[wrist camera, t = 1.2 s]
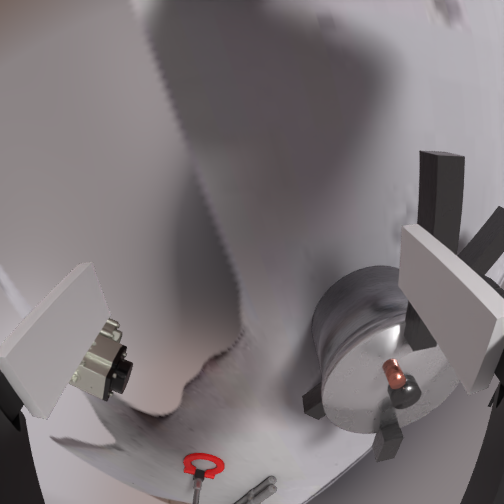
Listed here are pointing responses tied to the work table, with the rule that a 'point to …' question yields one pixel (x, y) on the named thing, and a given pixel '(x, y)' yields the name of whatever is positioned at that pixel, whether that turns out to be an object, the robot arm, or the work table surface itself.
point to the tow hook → (201, 471)
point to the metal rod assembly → (260, 492)
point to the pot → (380, 301)
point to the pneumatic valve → (104, 364)
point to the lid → (400, 337)
